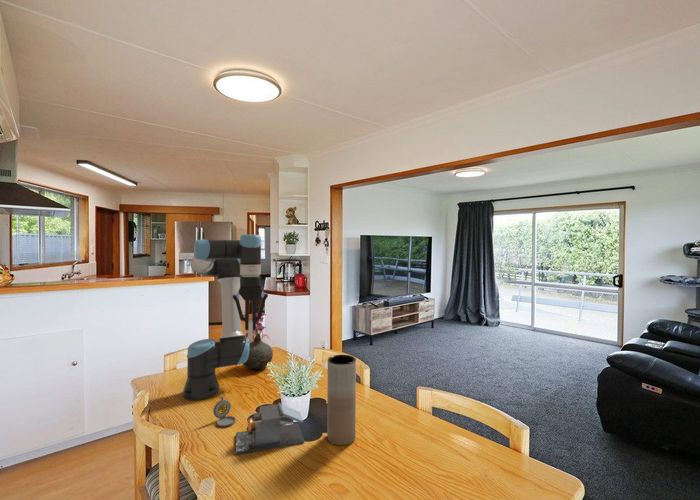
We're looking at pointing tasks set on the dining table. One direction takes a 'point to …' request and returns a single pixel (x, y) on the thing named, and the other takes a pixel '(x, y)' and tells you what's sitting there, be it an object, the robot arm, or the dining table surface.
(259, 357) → the vase
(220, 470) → the dining table surface
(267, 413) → the hitch block
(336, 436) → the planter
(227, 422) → the pocket watch
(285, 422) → the pin
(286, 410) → the keeper
